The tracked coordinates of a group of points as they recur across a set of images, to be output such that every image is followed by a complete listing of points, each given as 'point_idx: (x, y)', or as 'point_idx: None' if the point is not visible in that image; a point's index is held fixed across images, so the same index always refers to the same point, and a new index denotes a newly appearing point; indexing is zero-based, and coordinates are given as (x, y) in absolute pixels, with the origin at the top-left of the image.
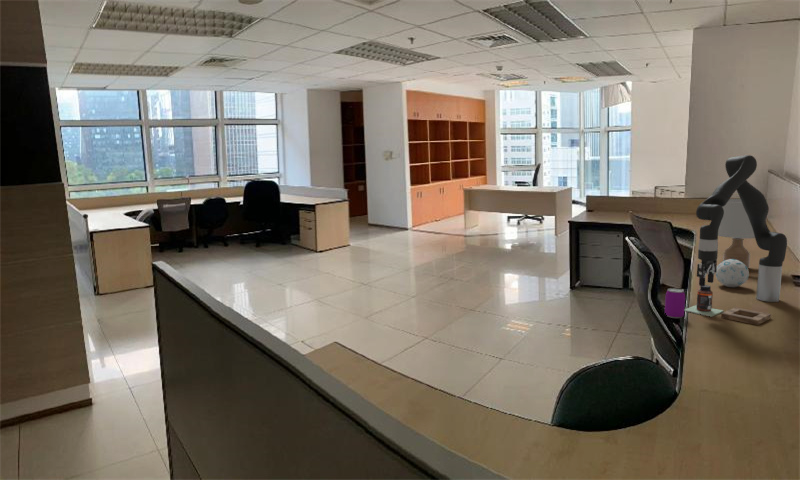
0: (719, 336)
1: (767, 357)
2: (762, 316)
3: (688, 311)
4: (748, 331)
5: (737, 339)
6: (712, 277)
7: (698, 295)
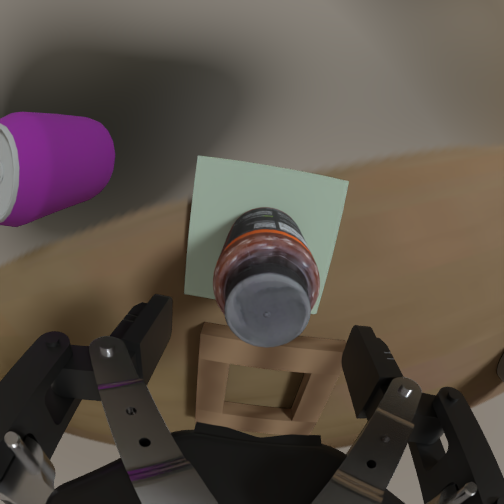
0: (24, 335)
1: None
2: (260, 428)
3: (194, 182)
4: None
5: None
6: (351, 394)
7: (228, 241)
